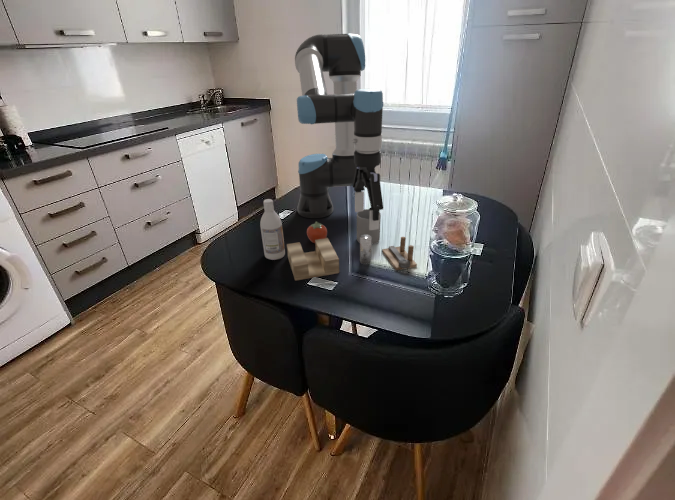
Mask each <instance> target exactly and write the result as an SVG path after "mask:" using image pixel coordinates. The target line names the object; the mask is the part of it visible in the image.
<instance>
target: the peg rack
mask: <svg viewBox="0 0 675 500" xmlns="http://www.w3.org/2000/svg"><path fill="white" fill-rule="evenodd" d="M406 239H407V238H406V236H401V237H400V243H399V245H398V246H394V245H389V246H388V248H387V247H386V248H382V250H381V252H382V254H384V257H385V258H386V259H387V260H388V262H389V264H391V265H392V267H393V268H394V270H396V271H402V270H406V269H411V268H417V266H418V264H417V262H415V260H414V259H413V258H414V249H415V248H414V247H415V246H414V245H412V244H409V245H408V247H407V248H408V251H406Z"/></svg>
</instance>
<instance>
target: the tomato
mask: <svg viewBox="0 0 675 500" xmlns="http://www.w3.org/2000/svg"><path fill="white" fill-rule="evenodd" d="M306 235H307V238H308V239H309V241H310V242H311V243H312V244H315V240H317V239H324V238H327V236H328V228H327V227H326V226H325V225H324V224H322V223H321V222H318V221H316V220H315V222H314V223H312V224H310V225H309V226H308V227H307V229H306Z"/></svg>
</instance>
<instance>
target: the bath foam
mask: <svg viewBox="0 0 675 500" xmlns="http://www.w3.org/2000/svg"><path fill="white" fill-rule="evenodd" d="M274 206H275V205H274V201H273V199H271V198H267V199H264V200H263V208H264V212H263V214H262V216H261V218H260V223H259V224H260V225H259V227H260V232H261V239H262V248H263V253H264V257H265V258H266V259H268V260H272V261H273V260H274V261H275V260H280V259H282V258H283V257H285V255H286V249H285V248H286V247H285V241H284V240H285V239H284V230H283V224H282V223H283V222H282V219H281V217H280V216H279V214H278V213H277V212H276V211H275V209H274V208H275V207H274Z"/></svg>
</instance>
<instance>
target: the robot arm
mask: <svg viewBox="0 0 675 500" xmlns="http://www.w3.org/2000/svg"><path fill="white" fill-rule="evenodd" d="M294 66H295V69H296V70H297V73H299V81H300V89H301V95H299V96H298V97H297V98H296V107H297V108H296V109H297V111H296V112H297V120H298V122H299V123H300V124H302V125H316V124H317V125H319V124H334V133H335V134H334V135H335V149H334V150H333V151H332V152H331V154H332V155H331V156H332V157H328V155H326V153H312V154H309V155H306V156H304V157H302V158H301V159H299V161H298V167H297V168H298V171H297V172H298V173H297V174H298V177H299V178H298V180H299V192H300V193H299V200H298V203H297V207H296V208H297V214H298V215H299V216H301V217H303V218H306V219H307V218H308V219H321V218H326V217H328V216H330V215H332V214H333V212H334V204H333V202H332V199H331V196H330V193H329V188H337V187H338V188H340V187H352V188H353V190H354V212H355V213H357V212H361V211H364V207H365V206H364V204H365V203H364V201H365V200H364V199H365V193H364V191H365V189H366V190H367V196H368V199H369V204H370V207H369V208H368V209H369V211H370V219H369V230H377V229H379V214H380V213H381V211H382V210H384V203H383V194H382V187H381V174H380V173H377V172H376V167H377V166H380V164H381V162H382V159H381V158H382V151H381V149H382V140H383V139H382V138H383V133H382V132H383V111H384V110H383V109H384V98H383V97H384V96H383V95H384V93H383V90H381V89H377V88H360V89H357V88H358V87H357V86H358V85H357V84H358V83H357V82H358V80H359V79H360V77H361V72H362V71H364V70H365V68H366V51H365V45H364V42H363V39H362V37H361V36H360V35H359V34H356V33H336V34H335V33H333V34H331V33H330V34H323V33H322V34H316V35H312V36H310V37H308V38H307V39H305V40H304V41H303V42H301V44H300V45H299V46H298V48H297V49H296V51H295V55H294ZM324 72H325V73H326V72H327V73H328V78H329V79H330V80H331V81H332V82H333V94H329V93H328V91H327V86H326V81H325V77H324Z"/></svg>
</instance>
